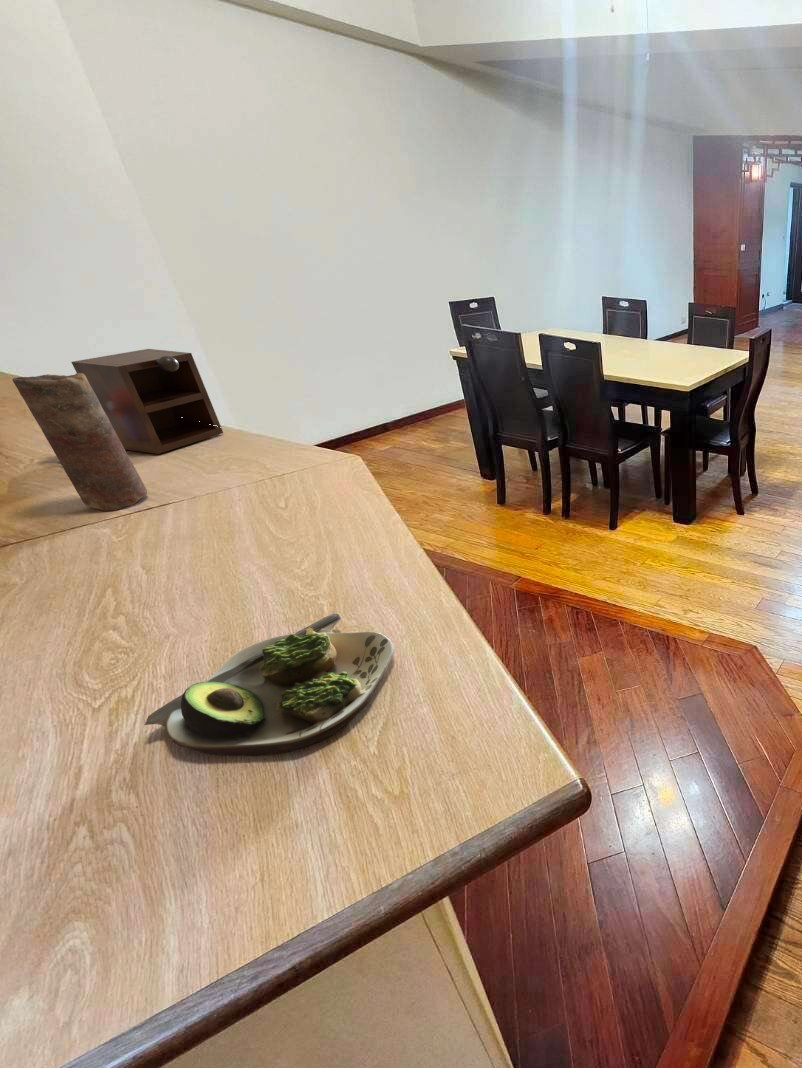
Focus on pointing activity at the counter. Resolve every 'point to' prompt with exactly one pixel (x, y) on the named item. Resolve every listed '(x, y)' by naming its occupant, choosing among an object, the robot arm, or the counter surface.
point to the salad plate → (280, 693)
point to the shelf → (152, 398)
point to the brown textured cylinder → (82, 439)
